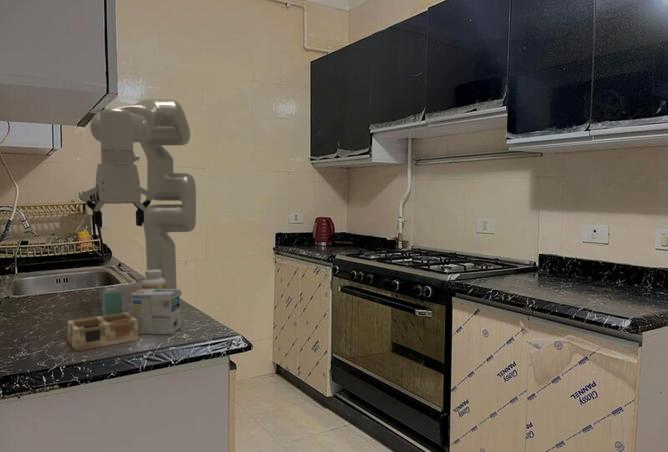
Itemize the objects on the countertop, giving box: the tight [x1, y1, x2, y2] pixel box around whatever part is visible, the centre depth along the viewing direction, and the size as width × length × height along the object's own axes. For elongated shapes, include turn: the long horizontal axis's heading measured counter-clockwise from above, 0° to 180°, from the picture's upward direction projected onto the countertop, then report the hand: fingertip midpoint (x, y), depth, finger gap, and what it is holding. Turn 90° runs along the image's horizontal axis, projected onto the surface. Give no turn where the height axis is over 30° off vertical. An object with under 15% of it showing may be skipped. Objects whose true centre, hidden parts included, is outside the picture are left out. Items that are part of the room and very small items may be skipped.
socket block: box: [66, 311, 139, 352], centre depth 122 cm, size 10×14×5 cm
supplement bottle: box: [141, 269, 166, 289], centre depth 148 cm, size 7×7×13 cm
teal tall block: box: [101, 287, 123, 316], centre depth 132 cm, size 4×4×11 cm
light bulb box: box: [131, 288, 182, 335], centre depth 130 cm, size 11×7×11 cm, turn 89°
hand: (119, 226), depth 126 cm, fingers open, 9 cm apart
